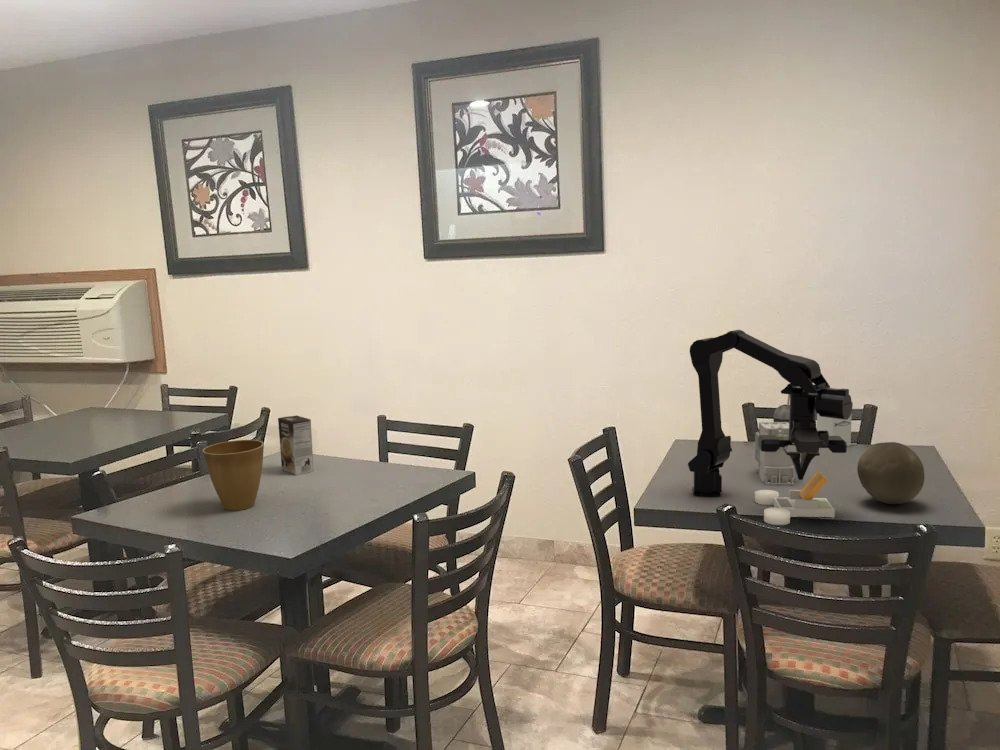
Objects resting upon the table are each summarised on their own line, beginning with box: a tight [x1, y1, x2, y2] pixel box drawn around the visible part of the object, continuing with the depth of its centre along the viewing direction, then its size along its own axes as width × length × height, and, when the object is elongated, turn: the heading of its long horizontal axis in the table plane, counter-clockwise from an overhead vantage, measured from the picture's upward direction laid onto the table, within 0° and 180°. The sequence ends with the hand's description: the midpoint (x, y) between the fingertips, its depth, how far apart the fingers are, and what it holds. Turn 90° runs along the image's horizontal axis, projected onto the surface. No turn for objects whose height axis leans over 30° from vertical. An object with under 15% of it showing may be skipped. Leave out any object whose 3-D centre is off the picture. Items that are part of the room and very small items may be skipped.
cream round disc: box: [763, 506, 791, 526], centre depth 183 cm, size 6×6×2 cm
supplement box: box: [816, 411, 853, 447], centre depth 251 cm, size 7×7×13 cm
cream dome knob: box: [754, 489, 780, 506], centre depth 197 cm, size 6×6×2 cm
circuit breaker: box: [754, 421, 796, 485], centre depth 218 cm, size 8×14×15 cm, turn 174°
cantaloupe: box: [856, 441, 926, 505], centre depth 192 cm, size 14×14×15 cm
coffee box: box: [277, 414, 315, 476], centre depth 241 cm, size 9×6×16 cm
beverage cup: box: [772, 394, 790, 423], centre depth 239 cm, size 7×7×20 cm
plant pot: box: [202, 439, 265, 512], centre depth 207 cm, size 15×15×16 cm
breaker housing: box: [772, 489, 836, 518], centre depth 189 cm, size 12×9×4 cm
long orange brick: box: [799, 470, 829, 500], centre depth 188 cm, size 2×5×8 cm
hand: (800, 479), depth 189 cm, fingers closed
